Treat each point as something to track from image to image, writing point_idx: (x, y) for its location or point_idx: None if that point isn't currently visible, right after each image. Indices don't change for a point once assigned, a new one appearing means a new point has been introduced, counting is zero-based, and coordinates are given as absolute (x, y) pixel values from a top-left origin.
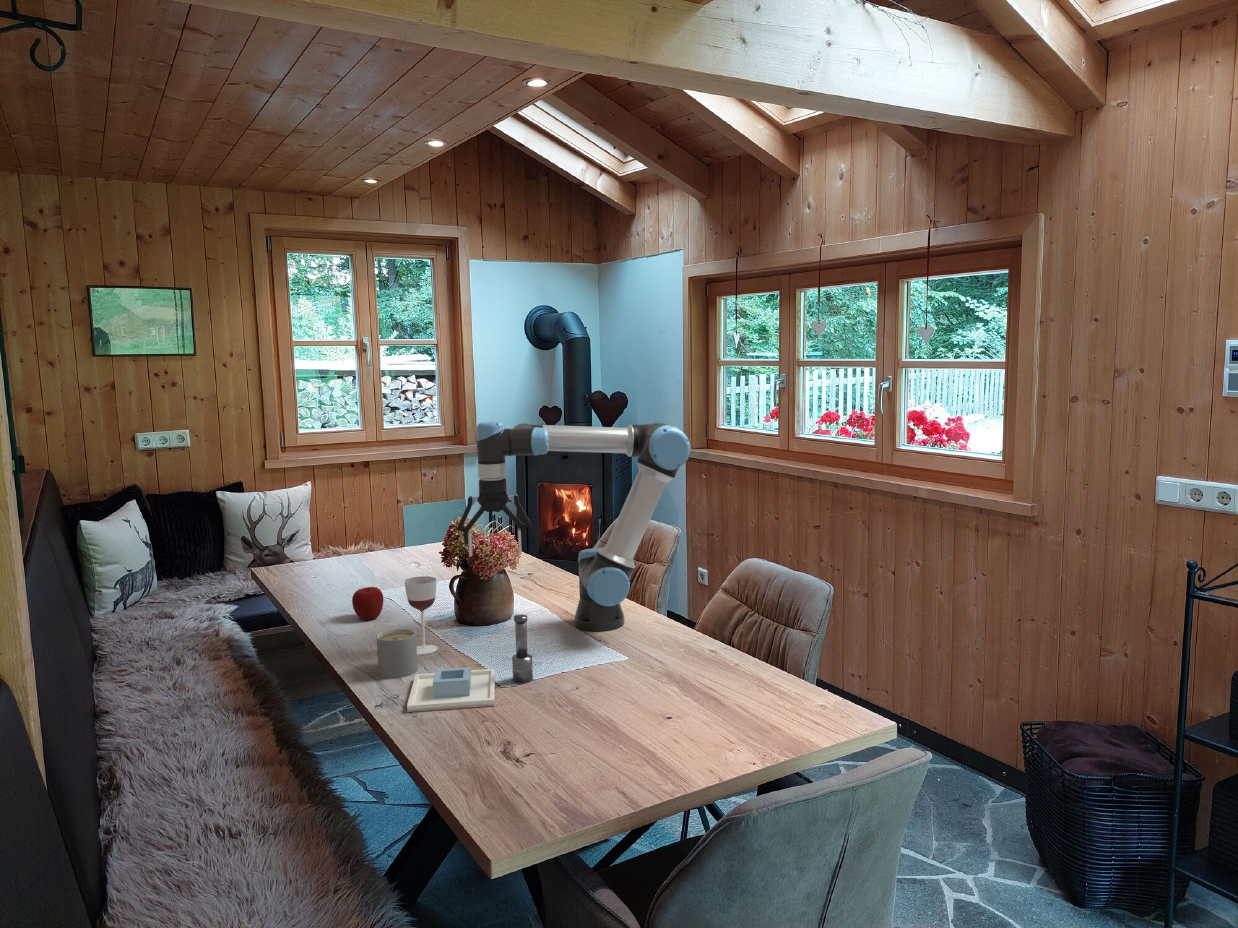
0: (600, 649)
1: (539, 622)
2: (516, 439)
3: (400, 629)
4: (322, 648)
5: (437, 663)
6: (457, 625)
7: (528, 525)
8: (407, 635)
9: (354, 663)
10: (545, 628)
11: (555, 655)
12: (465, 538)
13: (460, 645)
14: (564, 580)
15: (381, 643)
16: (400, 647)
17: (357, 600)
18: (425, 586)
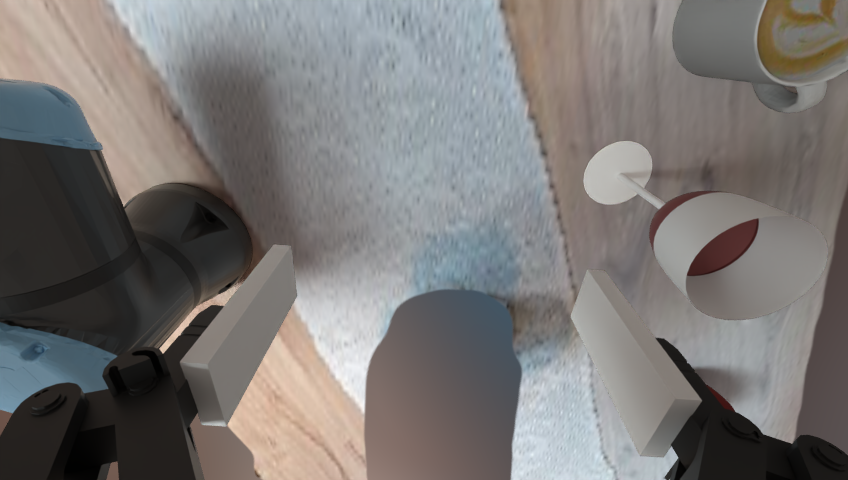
0: (163, 38)
1: (334, 279)
2: None
3: (784, 80)
4: (829, 244)
5: (612, 52)
6: (512, 306)
7: (53, 399)
8: (770, 32)
9: (809, 118)
10: (320, 239)
11: (288, 22)
12: (685, 373)
13: (527, 178)
14: (289, 469)
15: None
16: None
17: (732, 409)
18: (748, 211)
